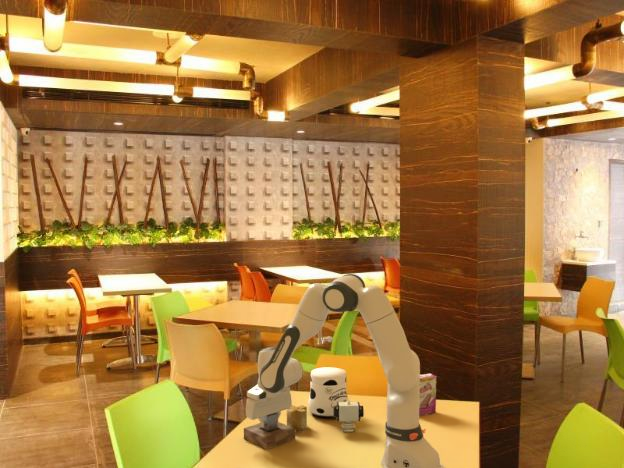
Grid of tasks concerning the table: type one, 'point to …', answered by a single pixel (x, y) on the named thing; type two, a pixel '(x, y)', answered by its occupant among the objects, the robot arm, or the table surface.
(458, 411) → the table surface
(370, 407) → the table surface
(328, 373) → the milk container
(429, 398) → the candy bar box
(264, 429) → the square bit
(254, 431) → the block
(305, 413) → the cross bit
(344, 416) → the pneumatic valve
